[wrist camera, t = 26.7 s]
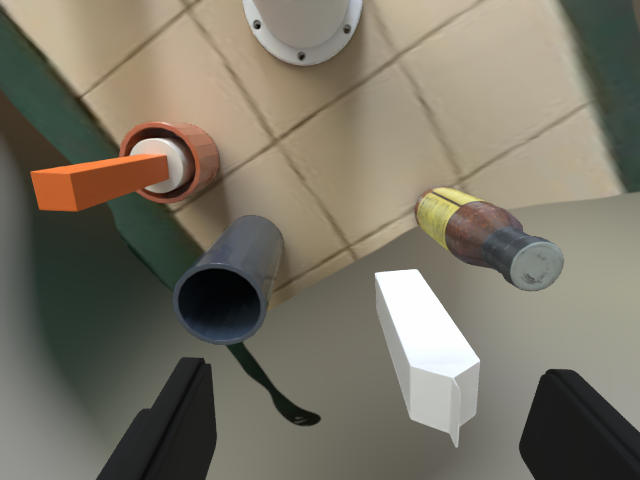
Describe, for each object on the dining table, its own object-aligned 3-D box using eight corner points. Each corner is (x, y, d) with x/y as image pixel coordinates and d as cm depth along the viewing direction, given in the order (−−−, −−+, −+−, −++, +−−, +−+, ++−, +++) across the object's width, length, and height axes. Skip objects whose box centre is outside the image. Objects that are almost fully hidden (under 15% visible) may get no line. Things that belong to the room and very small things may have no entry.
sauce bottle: (424, 239, 44) (503, 324, 25) (404, 200, 42) (473, 258, 24) (470, 215, 43) (588, 285, 24) (451, 174, 41) (563, 213, 22)
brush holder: (148, 121, 39) (113, 120, 32) (217, 124, 39) (196, 123, 33) (156, 189, 42) (125, 201, 35) (221, 192, 42) (203, 204, 35)
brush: (157, 135, 39) (-3, 144, 19) (203, 137, 39) (90, 148, 20) (163, 181, 41) (21, 231, 21) (207, 183, 41) (105, 235, 21)
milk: (417, 268, 46) (503, 387, 25) (417, 306, 47) (496, 447, 27) (373, 272, 46) (421, 394, 25) (374, 310, 48) (420, 453, 27)
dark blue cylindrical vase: (221, 213, 43) (167, 261, 28) (284, 216, 43) (265, 265, 28) (224, 271, 45) (177, 343, 30) (283, 273, 46) (266, 346, 30)
